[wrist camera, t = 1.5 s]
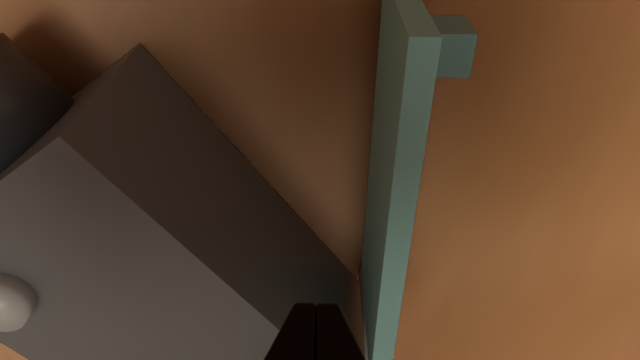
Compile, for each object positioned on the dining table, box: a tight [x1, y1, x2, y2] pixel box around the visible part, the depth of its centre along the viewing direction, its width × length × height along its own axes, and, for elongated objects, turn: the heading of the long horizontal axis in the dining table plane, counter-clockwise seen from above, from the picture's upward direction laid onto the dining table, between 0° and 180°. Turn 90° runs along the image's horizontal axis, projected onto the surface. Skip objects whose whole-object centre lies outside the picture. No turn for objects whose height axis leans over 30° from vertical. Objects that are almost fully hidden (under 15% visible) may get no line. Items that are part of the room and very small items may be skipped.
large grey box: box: [0, 33, 365, 360], centre depth 20 cm, size 19×9×8 cm, turn 35°
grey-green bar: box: [359, 0, 478, 360], centre depth 19 cm, size 15×2×6 cm, turn 0°
